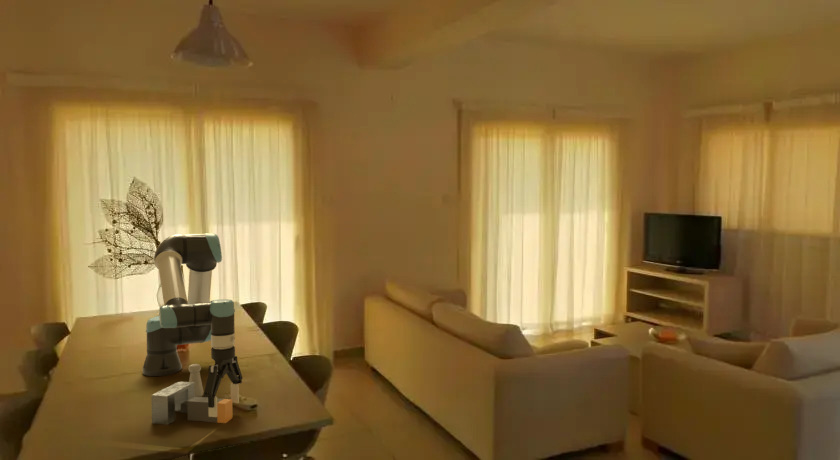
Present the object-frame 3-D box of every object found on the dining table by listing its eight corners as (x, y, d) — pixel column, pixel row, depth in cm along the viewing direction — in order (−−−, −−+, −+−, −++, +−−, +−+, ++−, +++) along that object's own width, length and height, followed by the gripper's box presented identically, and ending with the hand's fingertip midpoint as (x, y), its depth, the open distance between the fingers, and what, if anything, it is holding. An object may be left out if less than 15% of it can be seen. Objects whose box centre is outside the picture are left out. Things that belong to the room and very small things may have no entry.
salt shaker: (189, 396, 225) (188, 362, 224) (205, 396, 225) (204, 362, 225) (184, 402, 219) (184, 366, 219) (201, 401, 220) (200, 366, 219)
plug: (179, 419, 202) (179, 400, 202) (187, 414, 206) (187, 396, 206) (225, 423, 198) (225, 403, 198) (232, 418, 203) (232, 399, 203)
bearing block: (152, 423, 198) (151, 394, 198) (179, 407, 213) (179, 381, 213) (168, 424, 197) (167, 396, 197) (194, 409, 212) (194, 382, 211)
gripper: (212, 356, 187) (213, 423, 188) (251, 338, 211) (252, 398, 212) (190, 355, 188) (192, 421, 189) (232, 337, 213) (233, 396, 214)
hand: (224, 409), depth 201 cm, fingers open, 13 cm apart
